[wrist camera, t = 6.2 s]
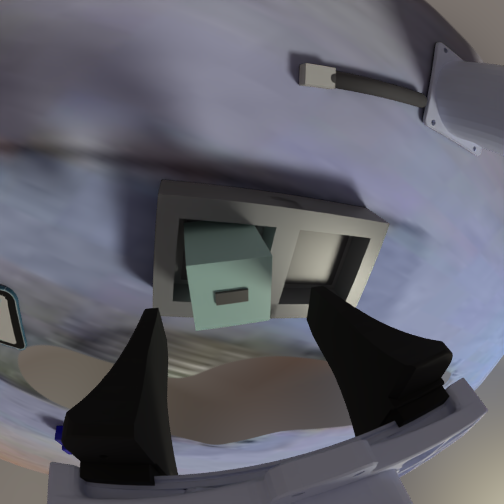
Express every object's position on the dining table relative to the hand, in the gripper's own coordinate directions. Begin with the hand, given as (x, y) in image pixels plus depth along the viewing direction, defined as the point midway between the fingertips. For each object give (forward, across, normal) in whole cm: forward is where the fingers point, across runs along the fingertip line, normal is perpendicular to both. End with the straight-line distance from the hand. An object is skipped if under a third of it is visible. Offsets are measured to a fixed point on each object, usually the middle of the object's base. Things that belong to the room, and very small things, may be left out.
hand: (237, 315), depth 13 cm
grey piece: (+8, -3, +1) cm, 8 cm away
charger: (+6, 0, 0) cm, 6 cm away
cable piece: (+8, -11, -11) cm, 17 cm away
